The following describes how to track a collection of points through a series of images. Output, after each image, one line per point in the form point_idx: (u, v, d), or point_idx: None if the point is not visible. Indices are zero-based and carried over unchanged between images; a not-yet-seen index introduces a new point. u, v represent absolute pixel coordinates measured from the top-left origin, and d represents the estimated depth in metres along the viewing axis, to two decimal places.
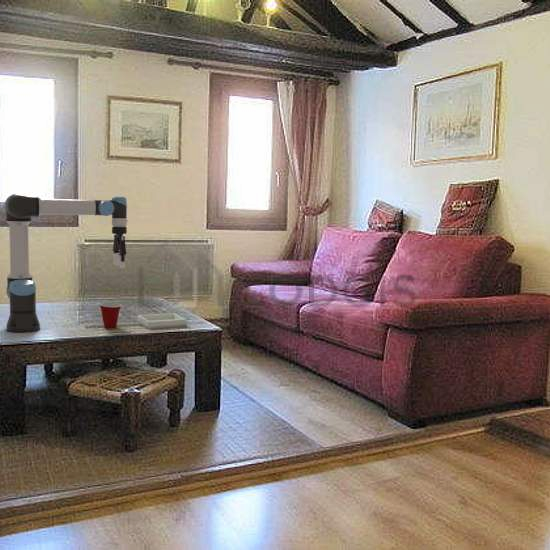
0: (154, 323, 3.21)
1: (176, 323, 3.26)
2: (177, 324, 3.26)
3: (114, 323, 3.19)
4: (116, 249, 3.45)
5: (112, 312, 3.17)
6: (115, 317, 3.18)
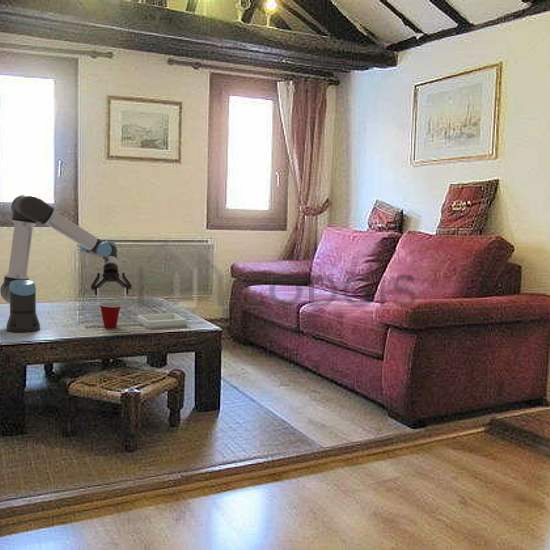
0: (154, 323, 3.21)
1: (176, 323, 3.26)
2: (177, 324, 3.26)
3: (114, 323, 3.19)
4: (99, 285, 3.31)
5: (112, 312, 3.17)
6: (115, 317, 3.18)
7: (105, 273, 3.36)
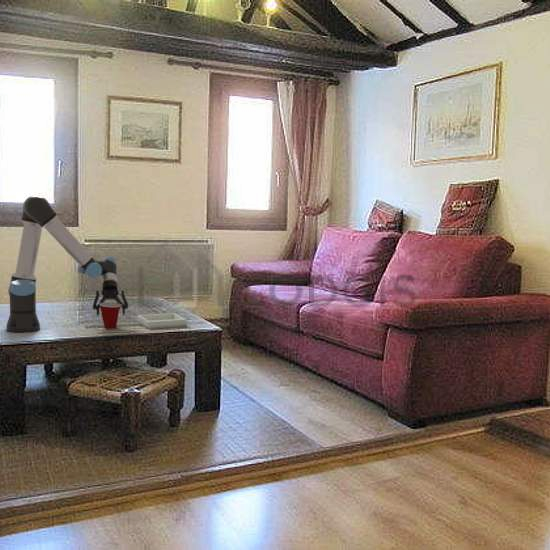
0: (154, 323, 3.21)
1: (176, 323, 3.26)
2: (177, 324, 3.26)
3: (114, 323, 3.19)
4: None
5: (112, 312, 3.17)
6: (115, 317, 3.18)
7: (104, 290, 3.26)
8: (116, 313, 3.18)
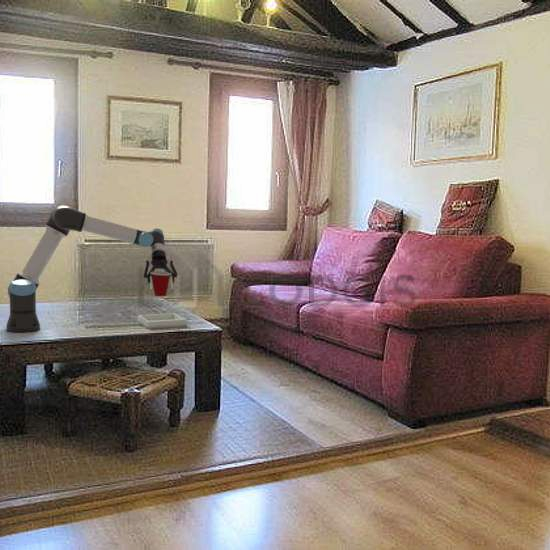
0: (154, 323, 3.21)
1: (176, 323, 3.26)
2: (177, 324, 3.26)
3: (164, 291, 3.29)
4: None
5: (163, 280, 3.26)
6: (165, 285, 3.28)
7: (153, 260, 3.36)
8: (166, 281, 3.28)
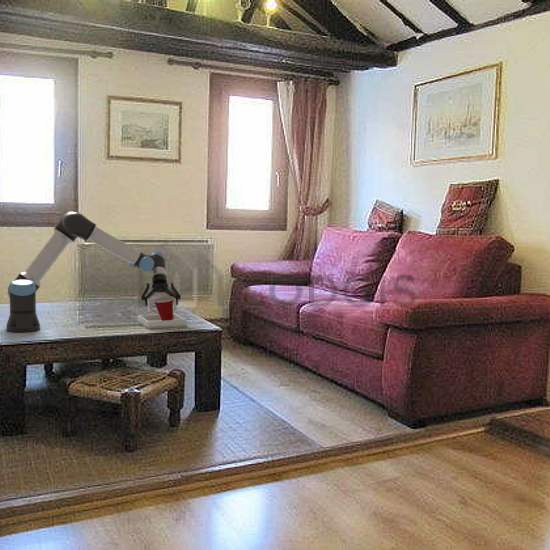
0: (154, 323, 3.21)
1: (176, 323, 3.26)
2: (177, 324, 3.26)
3: (170, 316, 3.33)
4: (149, 296, 3.33)
5: (166, 306, 3.30)
6: (170, 310, 3.32)
7: (154, 284, 3.38)
8: (170, 306, 3.31)
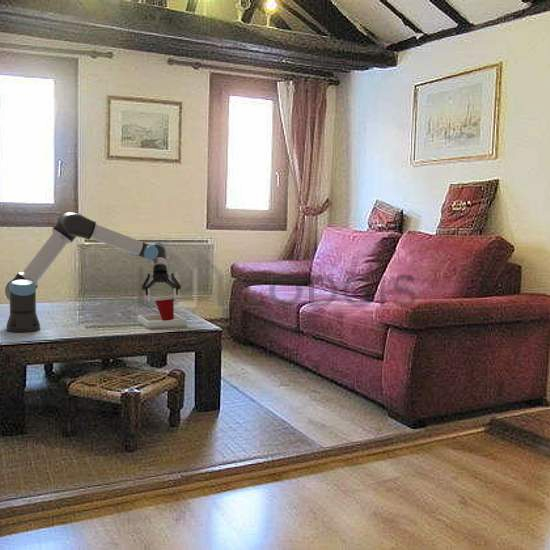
0: (154, 323, 3.21)
1: (176, 323, 3.26)
2: (177, 324, 3.26)
3: (171, 315, 3.33)
4: (150, 286, 3.38)
5: (167, 304, 3.31)
6: (171, 309, 3.33)
7: (155, 274, 3.43)
8: (171, 305, 3.33)
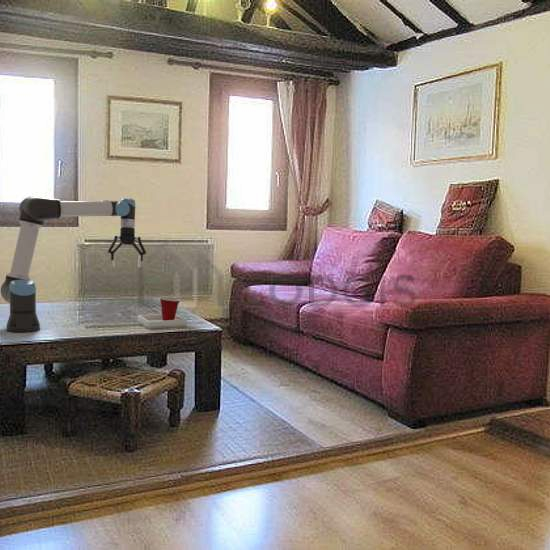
0: (154, 323, 3.21)
1: (176, 323, 3.26)
2: (177, 324, 3.26)
3: (172, 316, 3.33)
4: None
5: (171, 306, 3.31)
6: (173, 311, 3.33)
7: (122, 236, 3.46)
8: (175, 307, 3.33)
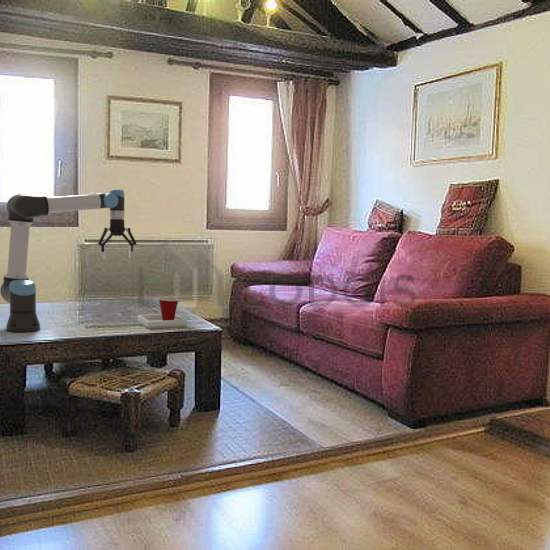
0: (154, 323, 3.21)
1: (176, 323, 3.26)
2: (177, 324, 3.26)
3: (172, 317, 3.33)
4: (106, 242, 3.45)
5: (170, 306, 3.31)
6: (173, 311, 3.33)
7: (112, 228, 3.45)
8: (174, 307, 3.33)
